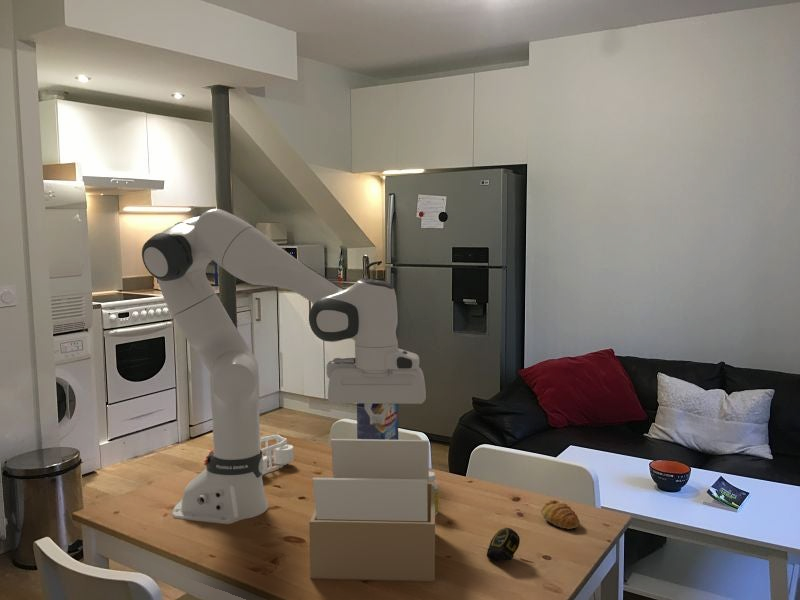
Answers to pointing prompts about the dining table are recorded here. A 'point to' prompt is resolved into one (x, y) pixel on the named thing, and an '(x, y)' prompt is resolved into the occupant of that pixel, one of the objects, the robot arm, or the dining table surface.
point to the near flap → (371, 499)
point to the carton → (374, 548)
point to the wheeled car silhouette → (276, 453)
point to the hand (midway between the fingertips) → (377, 423)
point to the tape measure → (503, 545)
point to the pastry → (560, 515)
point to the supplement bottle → (431, 479)
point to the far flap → (380, 459)
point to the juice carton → (376, 431)
